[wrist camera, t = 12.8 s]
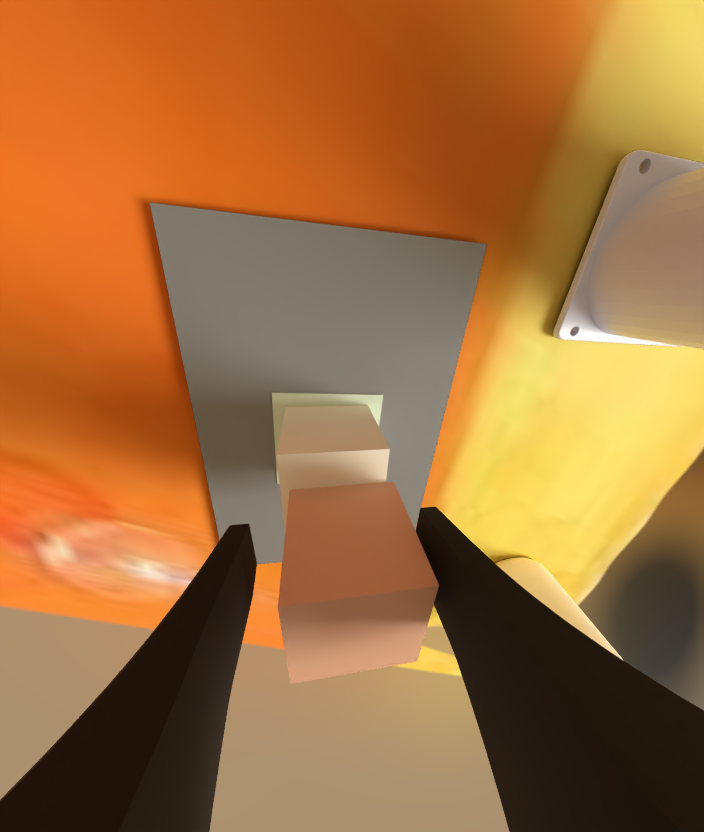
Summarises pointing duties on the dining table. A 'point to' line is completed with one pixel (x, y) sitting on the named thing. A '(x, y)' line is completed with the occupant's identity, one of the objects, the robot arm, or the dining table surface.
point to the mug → (551, 595)
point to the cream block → (329, 449)
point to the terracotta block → (352, 582)
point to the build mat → (310, 344)
